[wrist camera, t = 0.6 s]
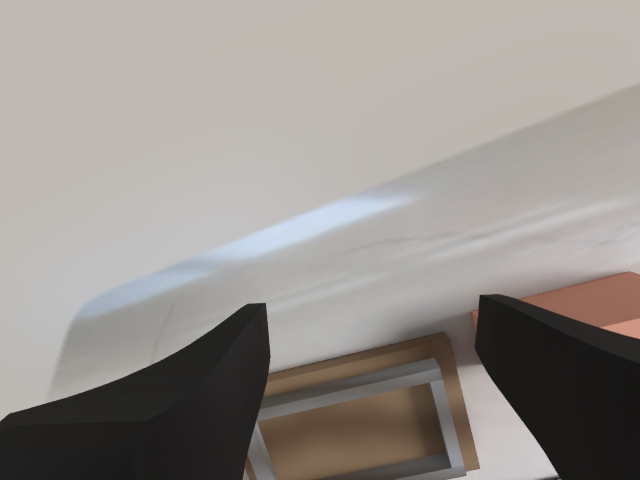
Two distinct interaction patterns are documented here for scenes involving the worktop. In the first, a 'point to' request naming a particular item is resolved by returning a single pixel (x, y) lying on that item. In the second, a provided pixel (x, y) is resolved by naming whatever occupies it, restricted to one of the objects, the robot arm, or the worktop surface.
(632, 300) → the block
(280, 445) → the cradle
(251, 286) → the worktop surface
